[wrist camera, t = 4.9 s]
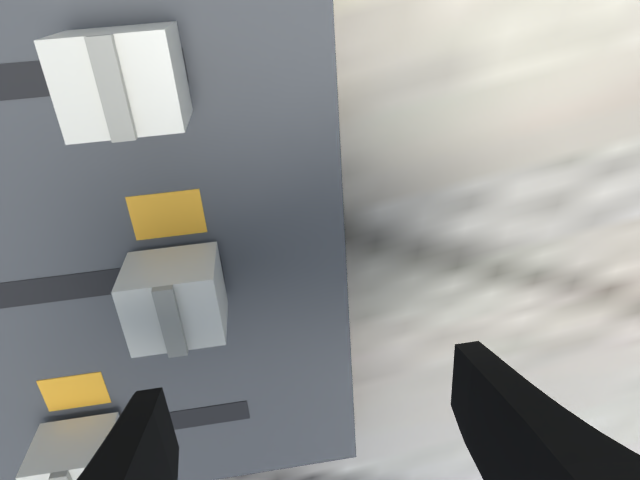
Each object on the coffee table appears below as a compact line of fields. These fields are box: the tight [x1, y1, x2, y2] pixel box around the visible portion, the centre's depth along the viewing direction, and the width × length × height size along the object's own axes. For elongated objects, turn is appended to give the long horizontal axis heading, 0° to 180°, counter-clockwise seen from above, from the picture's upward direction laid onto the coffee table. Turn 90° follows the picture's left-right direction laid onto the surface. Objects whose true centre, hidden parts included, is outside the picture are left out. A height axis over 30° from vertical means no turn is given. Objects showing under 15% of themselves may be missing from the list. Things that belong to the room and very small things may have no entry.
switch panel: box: [0, 0, 356, 480], centre depth 19 cm, size 22×18×2 cm
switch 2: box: [111, 241, 228, 358], centre depth 17 cm, size 2×3×3 cm
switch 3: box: [15, 412, 119, 480], centre depth 20 cm, size 2×3×3 cm
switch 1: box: [34, 21, 193, 145], centre depth 14 cm, size 2×3×3 cm
